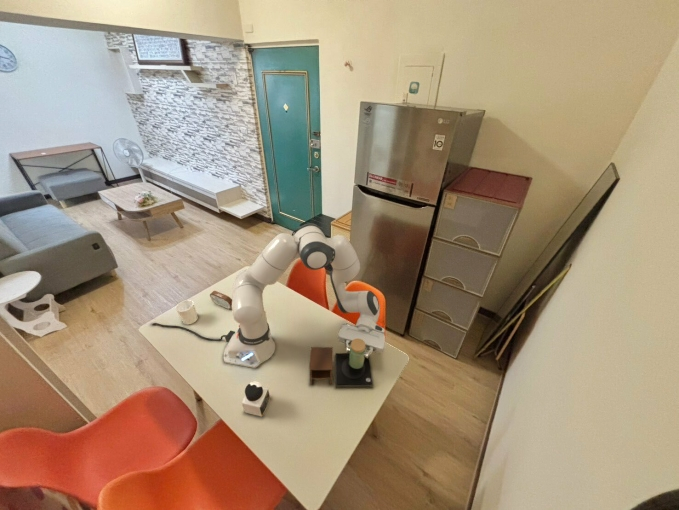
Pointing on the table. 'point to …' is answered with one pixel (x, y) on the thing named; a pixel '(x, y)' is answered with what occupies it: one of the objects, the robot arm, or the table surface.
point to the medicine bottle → (255, 399)
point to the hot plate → (352, 373)
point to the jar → (357, 353)
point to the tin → (221, 299)
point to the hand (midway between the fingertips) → (356, 354)
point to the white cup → (187, 311)
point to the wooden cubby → (321, 363)
